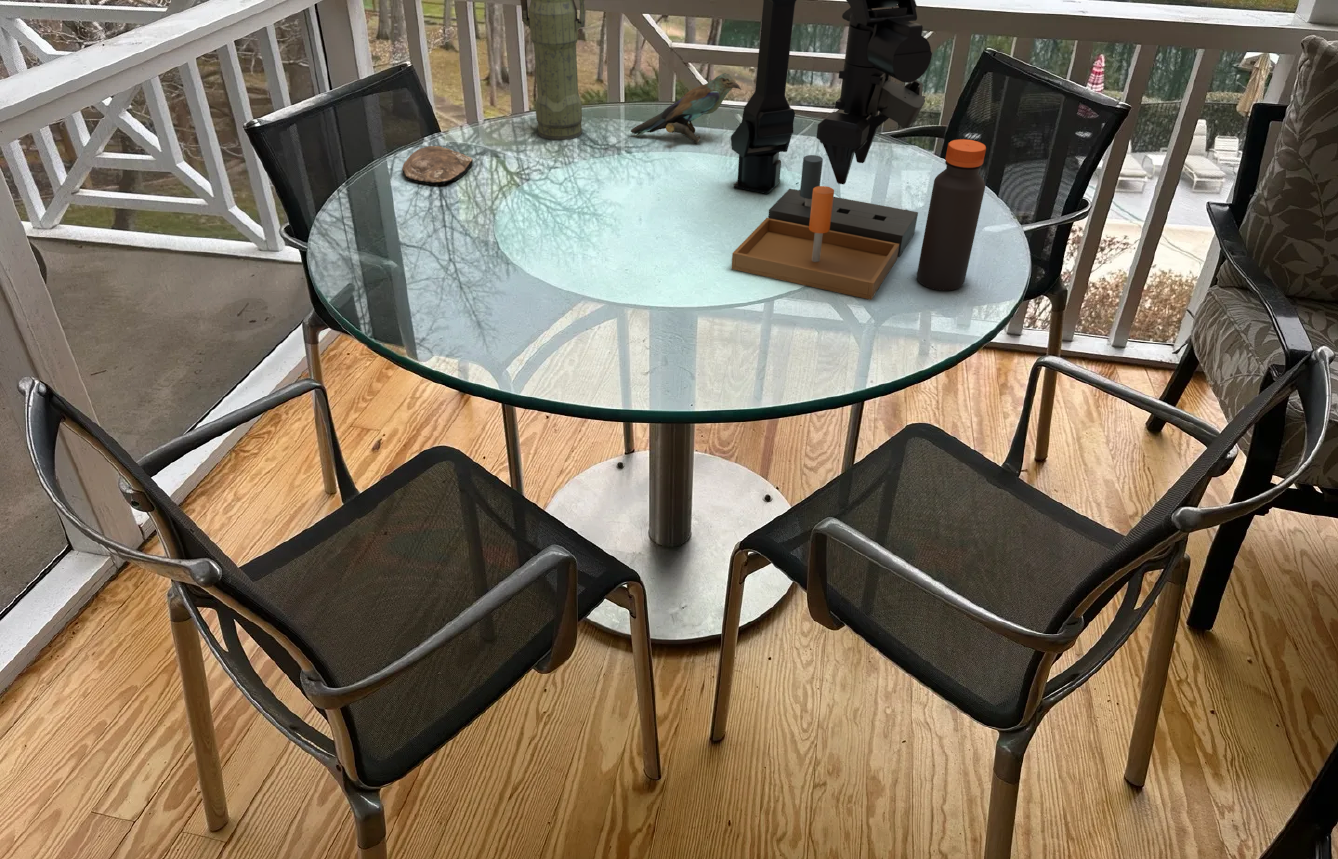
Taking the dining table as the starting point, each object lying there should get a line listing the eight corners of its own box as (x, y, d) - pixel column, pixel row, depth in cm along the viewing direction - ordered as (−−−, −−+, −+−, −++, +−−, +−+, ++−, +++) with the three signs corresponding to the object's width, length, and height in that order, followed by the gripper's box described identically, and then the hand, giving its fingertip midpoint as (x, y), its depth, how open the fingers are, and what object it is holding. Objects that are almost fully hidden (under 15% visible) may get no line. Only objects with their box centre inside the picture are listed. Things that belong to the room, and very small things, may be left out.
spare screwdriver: (794, 226, 151) (800, 159, 144) (800, 219, 153) (807, 153, 147) (812, 229, 150) (819, 162, 143) (818, 222, 152) (825, 156, 146)
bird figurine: (624, 141, 180) (679, 50, 169) (633, 125, 188) (686, 38, 177) (682, 180, 182) (741, 93, 172) (688, 163, 190) (744, 79, 180)
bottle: (973, 288, 134) (1003, 151, 122) (930, 294, 133) (957, 156, 121) (948, 267, 140) (976, 134, 128) (907, 273, 138) (931, 138, 126)
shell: (388, 180, 165) (385, 160, 163) (423, 155, 175) (420, 136, 173) (448, 187, 162) (445, 167, 160) (479, 162, 172) (477, 143, 170)
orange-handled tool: (802, 262, 139) (810, 191, 133) (809, 254, 141) (816, 184, 135) (822, 266, 138) (830, 195, 132) (828, 258, 140) (836, 188, 134)
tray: (731, 269, 139) (732, 252, 137) (765, 232, 149) (766, 217, 147) (871, 299, 131) (873, 283, 130) (896, 259, 142) (899, 243, 140)
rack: (899, 257, 142) (902, 235, 140) (767, 230, 150) (768, 209, 148) (914, 232, 150) (918, 211, 147) (787, 208, 157) (789, 188, 155)
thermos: (532, 124, 190) (517, -70, 169) (590, 125, 190) (583, -69, 169) (527, 139, 182) (511, -61, 162) (588, 140, 183) (580, -61, 162)
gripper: (906, 88, 117) (887, 206, 127) (941, 52, 131) (921, 161, 140) (821, 76, 121) (809, 191, 131) (864, 42, 135) (850, 148, 144)
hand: (851, 172), depth 136 cm, fingers open, 9 cm apart
